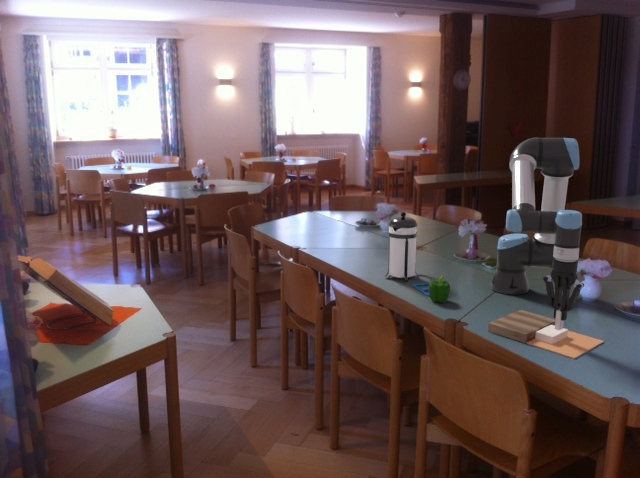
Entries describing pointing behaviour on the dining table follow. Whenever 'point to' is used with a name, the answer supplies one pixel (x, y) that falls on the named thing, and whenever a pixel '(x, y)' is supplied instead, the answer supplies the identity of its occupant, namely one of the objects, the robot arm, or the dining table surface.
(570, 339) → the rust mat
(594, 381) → the dining table surface
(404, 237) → the coffee press
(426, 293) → the handheld gaming device
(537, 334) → the cream block
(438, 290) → the bell pepper
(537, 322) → the board
